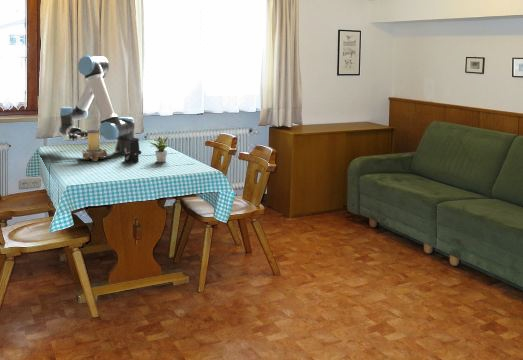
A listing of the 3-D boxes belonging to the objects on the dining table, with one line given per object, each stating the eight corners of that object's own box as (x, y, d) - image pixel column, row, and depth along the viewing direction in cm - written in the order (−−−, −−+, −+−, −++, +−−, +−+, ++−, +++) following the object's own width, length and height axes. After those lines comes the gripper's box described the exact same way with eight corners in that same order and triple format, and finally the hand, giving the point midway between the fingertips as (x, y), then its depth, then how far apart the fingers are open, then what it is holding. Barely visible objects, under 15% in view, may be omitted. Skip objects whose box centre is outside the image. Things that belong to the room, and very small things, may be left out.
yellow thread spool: (101, 149, 400) (100, 129, 397) (102, 152, 391) (101, 131, 389) (86, 150, 397) (85, 129, 394) (86, 153, 389) (85, 131, 386)
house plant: (162, 157, 400) (161, 131, 397) (178, 160, 392) (177, 133, 389) (145, 161, 389) (144, 134, 385) (162, 163, 381) (161, 136, 378)
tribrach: (105, 156, 404) (105, 149, 403) (107, 160, 391) (106, 152, 390) (82, 157, 400) (82, 150, 399) (83, 161, 387) (83, 154, 386)
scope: (123, 138, 388) (139, 137, 391) (124, 160, 391) (140, 159, 394) (124, 140, 380) (141, 139, 383) (125, 163, 383) (142, 162, 386)
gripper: (92, 136, 419) (108, 140, 404) (56, 140, 403) (71, 144, 387) (91, 125, 417) (108, 128, 402) (55, 128, 401) (71, 132, 386)
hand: (90, 136), depth 395 cm, fingers open, 13 cm apart
